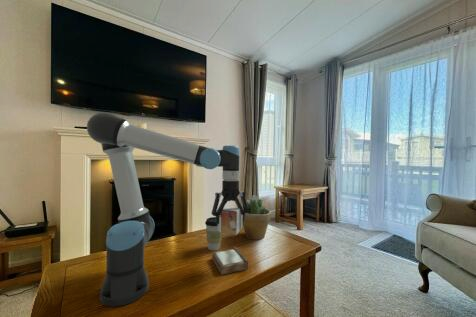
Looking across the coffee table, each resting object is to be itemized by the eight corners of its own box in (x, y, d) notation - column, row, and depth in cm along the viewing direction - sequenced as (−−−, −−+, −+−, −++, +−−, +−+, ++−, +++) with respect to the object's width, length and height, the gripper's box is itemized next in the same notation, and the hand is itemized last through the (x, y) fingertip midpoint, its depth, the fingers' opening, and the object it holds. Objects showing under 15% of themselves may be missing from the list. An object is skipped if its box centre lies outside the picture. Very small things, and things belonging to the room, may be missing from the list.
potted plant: (237, 231, 134) (238, 192, 134) (265, 229, 138) (265, 192, 137) (243, 243, 116) (244, 198, 116) (275, 241, 120) (275, 198, 119)
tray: (221, 274, 85) (221, 265, 85) (212, 258, 98) (212, 250, 98) (247, 269, 90) (248, 260, 90) (235, 254, 103) (236, 246, 103)
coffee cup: (220, 253, 104) (220, 223, 104) (201, 250, 106) (202, 221, 106) (225, 244, 114) (225, 217, 113) (208, 243, 116) (208, 216, 115)
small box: (219, 233, 92) (219, 209, 92) (224, 228, 98) (224, 206, 97) (236, 235, 90) (237, 211, 90) (240, 230, 95) (240, 208, 95)
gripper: (208, 181, 86) (208, 235, 86) (256, 180, 94) (255, 229, 94) (204, 179, 93) (203, 229, 93) (249, 178, 101) (248, 224, 101)
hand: (230, 229), depth 94 cm, fingers closed on small box, 9 cm apart
